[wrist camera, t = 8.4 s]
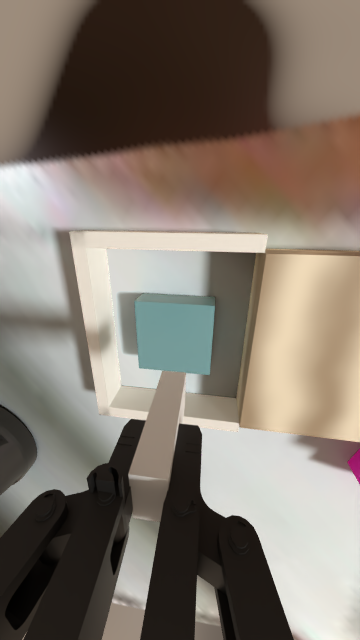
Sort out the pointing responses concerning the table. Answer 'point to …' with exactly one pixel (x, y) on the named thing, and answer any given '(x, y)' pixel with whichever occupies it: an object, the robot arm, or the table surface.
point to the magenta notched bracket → (355, 465)
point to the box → (101, 323)
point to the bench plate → (303, 345)
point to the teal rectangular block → (175, 332)
